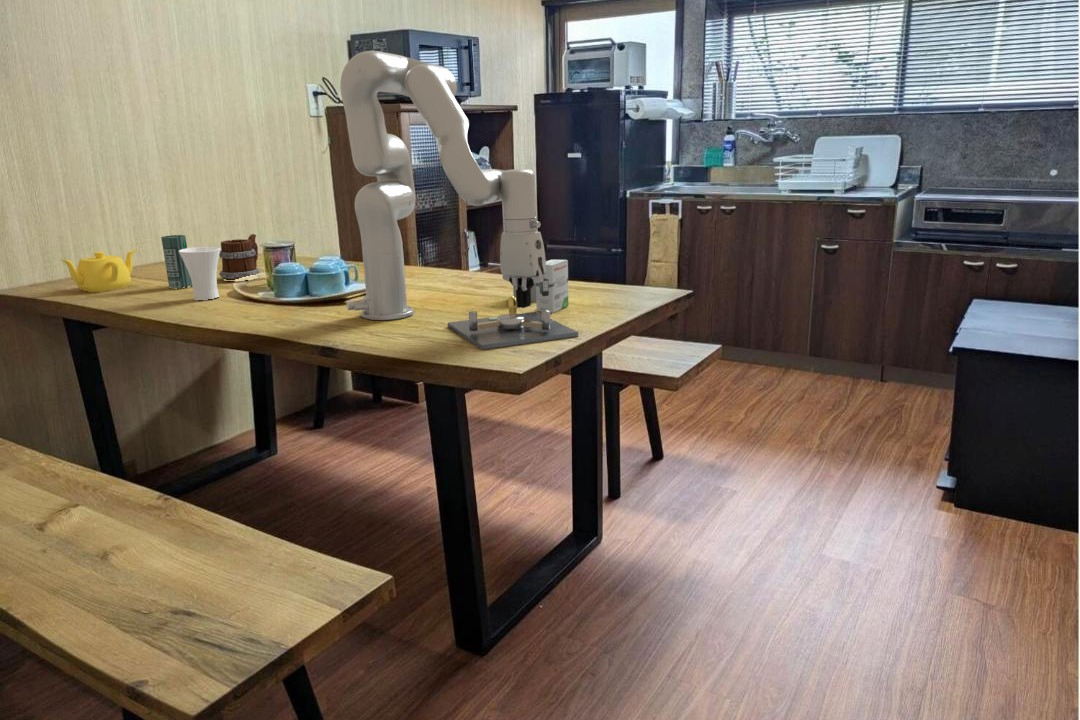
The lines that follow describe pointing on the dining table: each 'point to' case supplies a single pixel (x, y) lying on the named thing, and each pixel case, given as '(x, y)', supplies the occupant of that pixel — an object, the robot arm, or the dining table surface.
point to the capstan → (510, 319)
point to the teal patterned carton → (175, 261)
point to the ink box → (553, 287)
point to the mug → (239, 258)
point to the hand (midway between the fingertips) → (524, 306)
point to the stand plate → (511, 332)
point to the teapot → (102, 272)
